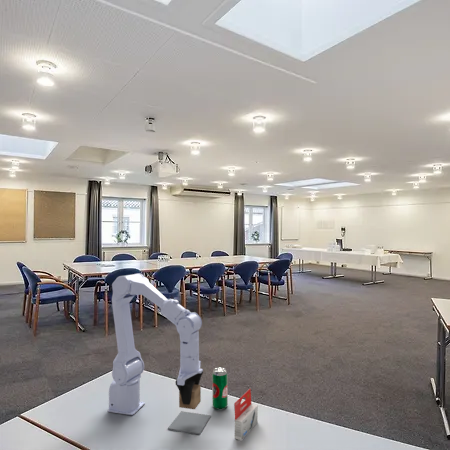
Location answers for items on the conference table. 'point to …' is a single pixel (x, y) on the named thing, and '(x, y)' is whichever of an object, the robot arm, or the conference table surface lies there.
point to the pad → (189, 422)
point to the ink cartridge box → (244, 416)
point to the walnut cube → (192, 398)
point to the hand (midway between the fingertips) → (189, 399)
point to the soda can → (219, 388)
